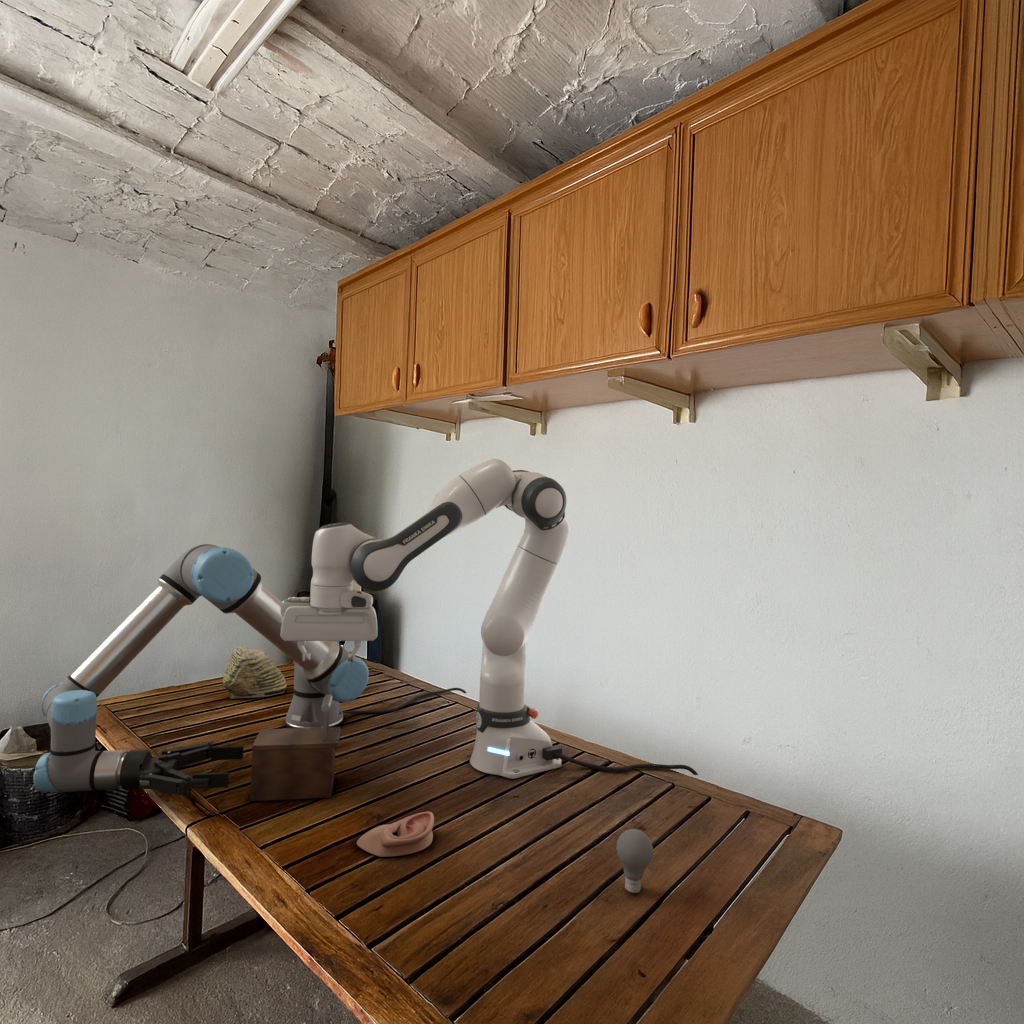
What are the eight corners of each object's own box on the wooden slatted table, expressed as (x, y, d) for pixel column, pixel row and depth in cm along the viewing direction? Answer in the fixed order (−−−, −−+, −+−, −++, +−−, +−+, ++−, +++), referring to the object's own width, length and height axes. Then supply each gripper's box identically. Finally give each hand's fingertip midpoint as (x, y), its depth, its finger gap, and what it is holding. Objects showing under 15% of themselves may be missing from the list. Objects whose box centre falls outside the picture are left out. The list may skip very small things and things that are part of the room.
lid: (340, 731, 143) (342, 692, 143) (337, 748, 134) (339, 705, 134) (260, 733, 139) (262, 693, 139) (252, 750, 130) (253, 707, 130)
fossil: (218, 695, 195) (220, 647, 195) (278, 685, 208) (279, 640, 207) (228, 703, 189) (230, 653, 188) (289, 692, 201) (290, 645, 201)
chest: (334, 778, 143) (336, 732, 143) (330, 797, 134) (332, 748, 133) (258, 781, 140) (260, 734, 139) (250, 801, 130) (252, 751, 130)
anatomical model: (349, 829, 113) (376, 800, 125) (348, 851, 113) (375, 820, 125) (420, 841, 111) (440, 810, 122) (419, 863, 111) (439, 830, 122)
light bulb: (610, 879, 108) (613, 822, 108) (644, 879, 109) (647, 822, 109) (619, 902, 102) (622, 840, 102) (655, 901, 103) (658, 840, 103)
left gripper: (147, 762, 142) (247, 758, 146) (97, 818, 117) (220, 812, 122) (148, 729, 142) (249, 726, 146) (98, 778, 117) (221, 773, 121)
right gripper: (278, 599, 132) (276, 665, 132) (378, 600, 136) (376, 664, 136) (283, 594, 138) (281, 657, 138) (379, 595, 142) (376, 656, 142)
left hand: (236, 765), depth 134 cm, fingers open, 13 cm apart
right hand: (329, 660), depth 137 cm, fingers open, 8 cm apart
